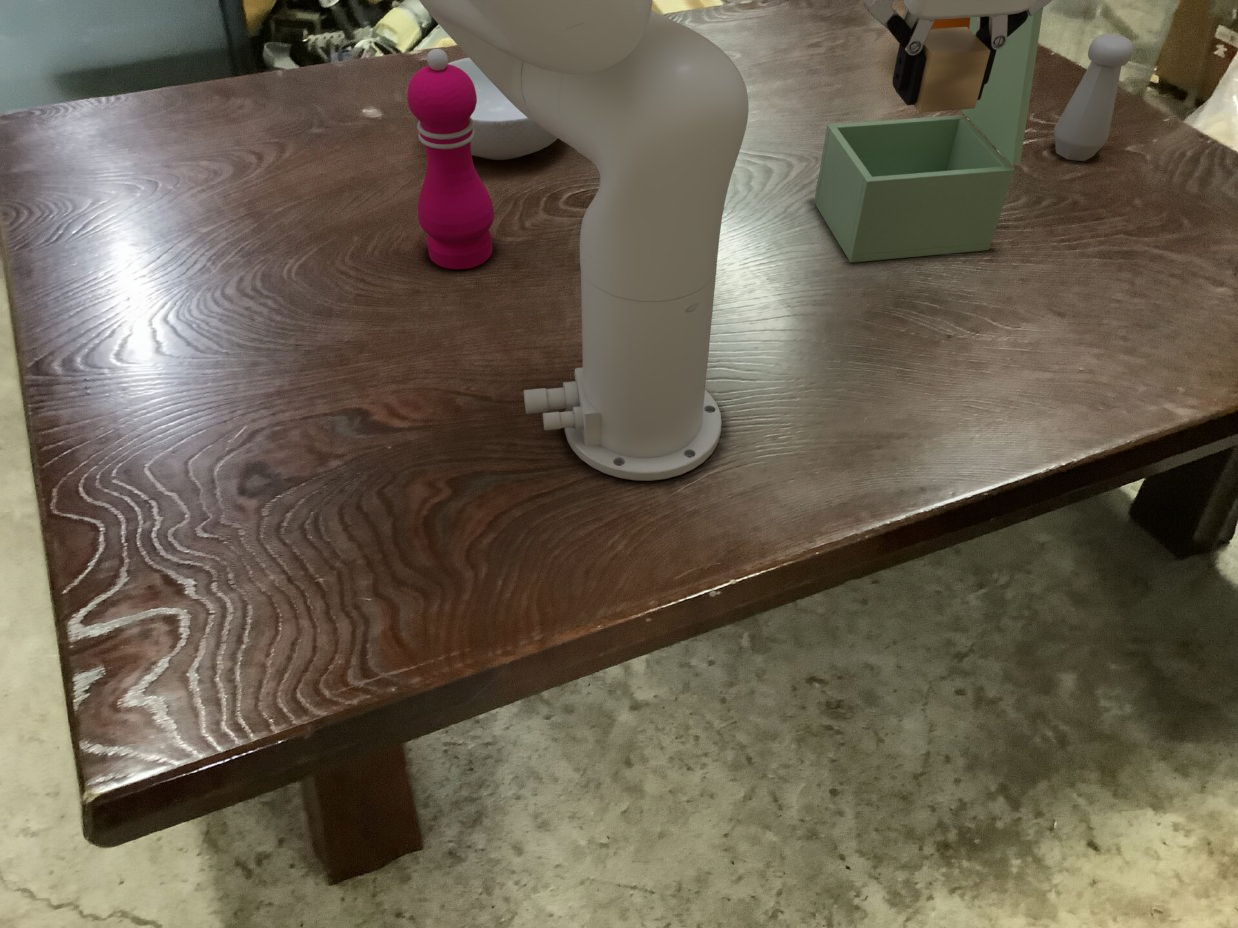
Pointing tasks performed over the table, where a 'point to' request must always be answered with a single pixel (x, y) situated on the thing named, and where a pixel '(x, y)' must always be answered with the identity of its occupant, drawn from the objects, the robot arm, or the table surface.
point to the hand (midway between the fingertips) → (937, 93)
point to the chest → (911, 187)
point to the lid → (1008, 90)
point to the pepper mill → (450, 166)
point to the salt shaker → (1093, 100)
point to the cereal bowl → (500, 121)
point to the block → (951, 70)
